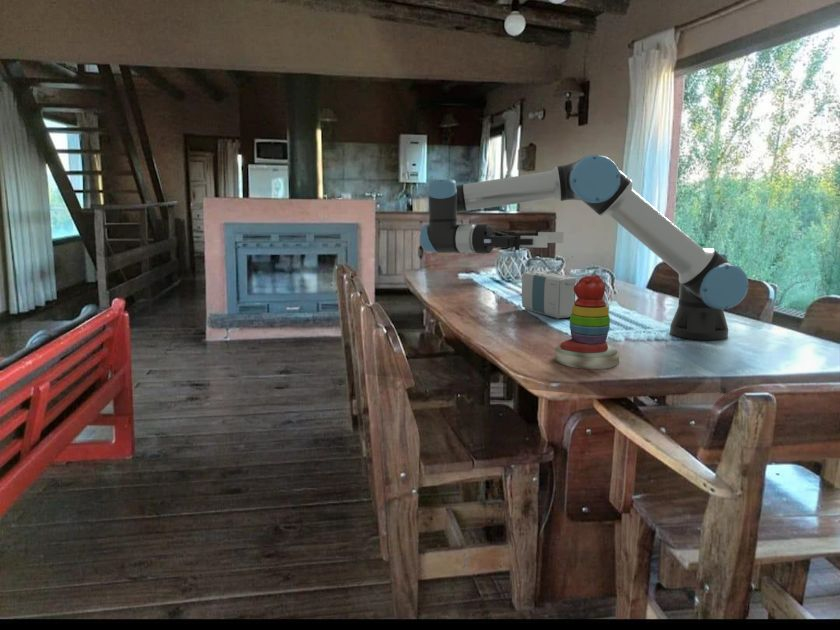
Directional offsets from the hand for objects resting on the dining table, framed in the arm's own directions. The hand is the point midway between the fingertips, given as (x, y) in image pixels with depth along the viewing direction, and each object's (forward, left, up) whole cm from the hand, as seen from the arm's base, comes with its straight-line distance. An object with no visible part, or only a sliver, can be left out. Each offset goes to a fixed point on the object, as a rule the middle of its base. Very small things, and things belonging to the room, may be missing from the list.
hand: (555, 239), depth 159 cm
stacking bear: (-9, +6, -26) cm, 28 cm away
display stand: (-9, +6, -29) cm, 31 cm away
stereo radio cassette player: (+8, -52, -29) cm, 60 cm away
